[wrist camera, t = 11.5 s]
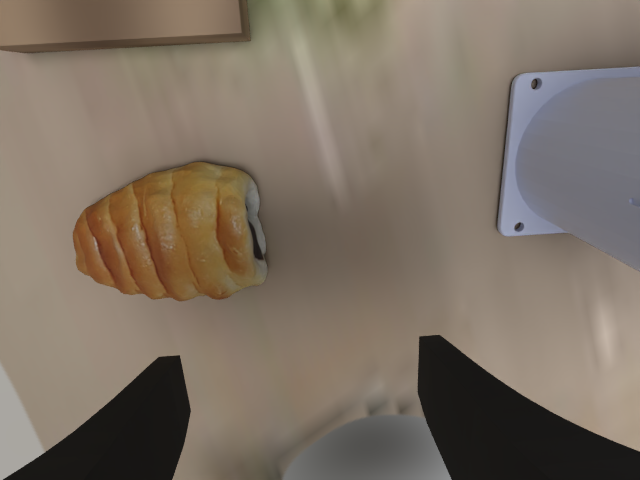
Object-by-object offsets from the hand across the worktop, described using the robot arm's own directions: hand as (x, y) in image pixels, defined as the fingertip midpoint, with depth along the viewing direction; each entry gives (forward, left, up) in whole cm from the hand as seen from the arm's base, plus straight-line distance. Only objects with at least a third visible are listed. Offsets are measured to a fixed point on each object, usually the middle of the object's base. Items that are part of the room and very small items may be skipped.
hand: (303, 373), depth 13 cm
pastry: (+6, -1, -11) cm, 12 cm away
